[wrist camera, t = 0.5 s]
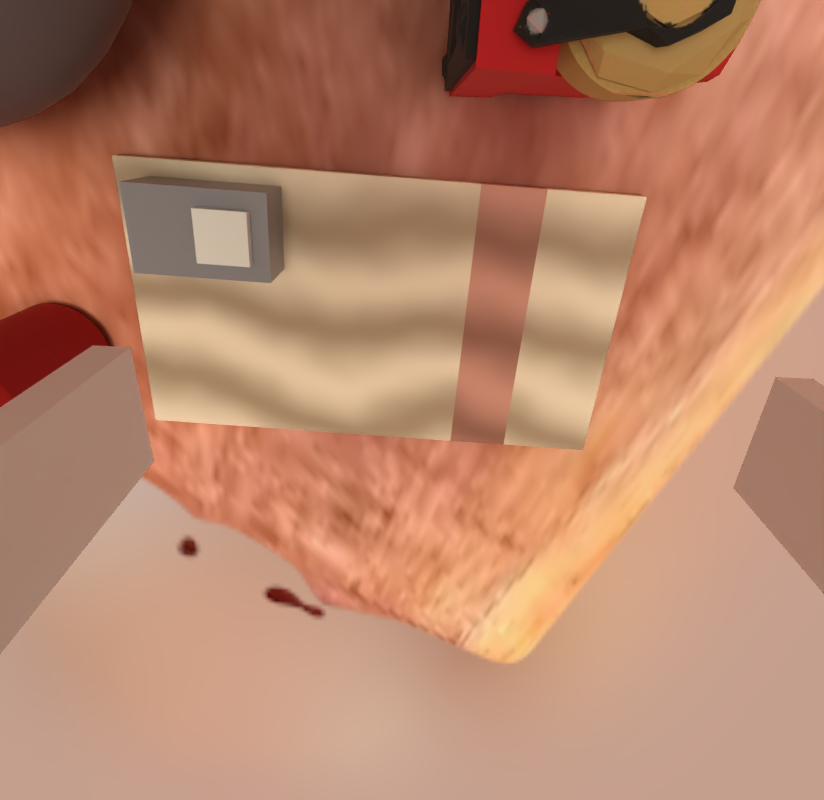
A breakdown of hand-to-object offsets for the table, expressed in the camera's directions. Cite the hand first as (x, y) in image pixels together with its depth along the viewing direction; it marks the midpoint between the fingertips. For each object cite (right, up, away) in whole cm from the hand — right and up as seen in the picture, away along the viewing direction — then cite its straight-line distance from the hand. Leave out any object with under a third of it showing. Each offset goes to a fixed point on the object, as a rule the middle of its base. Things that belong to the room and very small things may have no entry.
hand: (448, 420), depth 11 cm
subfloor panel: (-3, +6, +26) cm, 27 cm away
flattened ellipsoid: (-24, +28, +16) cm, 40 cm away
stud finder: (-13, +11, +22) cm, 28 cm away
